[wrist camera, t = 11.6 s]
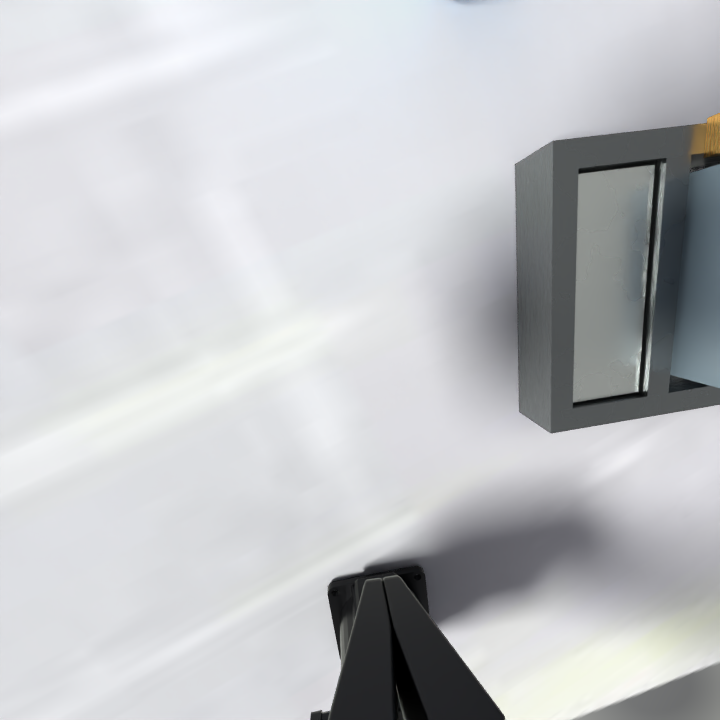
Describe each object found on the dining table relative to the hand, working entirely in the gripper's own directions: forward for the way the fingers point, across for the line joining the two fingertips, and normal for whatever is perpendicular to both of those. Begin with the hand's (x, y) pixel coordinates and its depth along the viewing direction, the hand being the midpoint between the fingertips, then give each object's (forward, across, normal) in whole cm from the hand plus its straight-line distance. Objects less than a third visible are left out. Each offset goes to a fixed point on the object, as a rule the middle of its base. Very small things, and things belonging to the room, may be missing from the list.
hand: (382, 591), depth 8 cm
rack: (+12, -19, -6) cm, 23 cm away
